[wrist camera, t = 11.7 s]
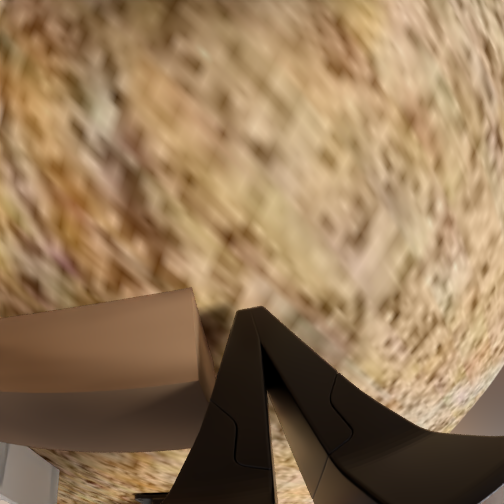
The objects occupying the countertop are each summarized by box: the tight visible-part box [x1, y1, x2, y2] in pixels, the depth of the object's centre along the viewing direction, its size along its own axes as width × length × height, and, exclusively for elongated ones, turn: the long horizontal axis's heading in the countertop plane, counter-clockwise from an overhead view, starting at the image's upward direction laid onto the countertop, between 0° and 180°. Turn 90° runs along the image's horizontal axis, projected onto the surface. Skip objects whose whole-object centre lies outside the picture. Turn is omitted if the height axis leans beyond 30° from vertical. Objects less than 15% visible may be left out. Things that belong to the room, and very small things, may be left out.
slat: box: [0, 287, 216, 452], centre depth 8 cm, size 4×14×4 cm, turn 96°
